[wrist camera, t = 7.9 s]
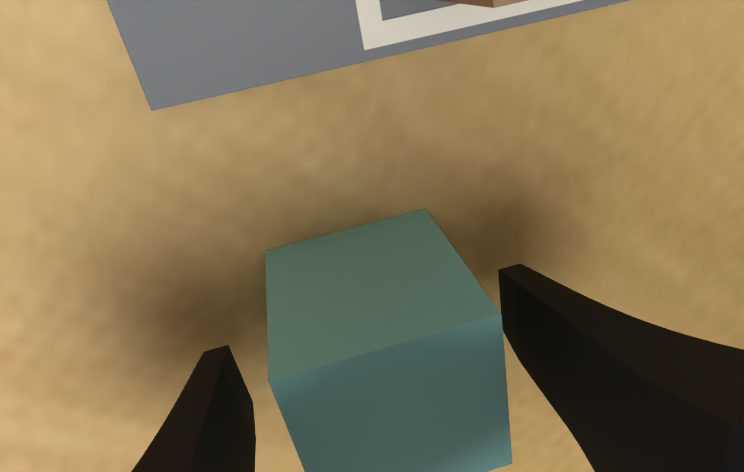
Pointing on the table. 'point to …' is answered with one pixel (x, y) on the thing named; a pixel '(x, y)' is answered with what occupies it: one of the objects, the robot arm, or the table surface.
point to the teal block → (386, 352)
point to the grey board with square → (293, 37)
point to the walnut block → (486, 2)
